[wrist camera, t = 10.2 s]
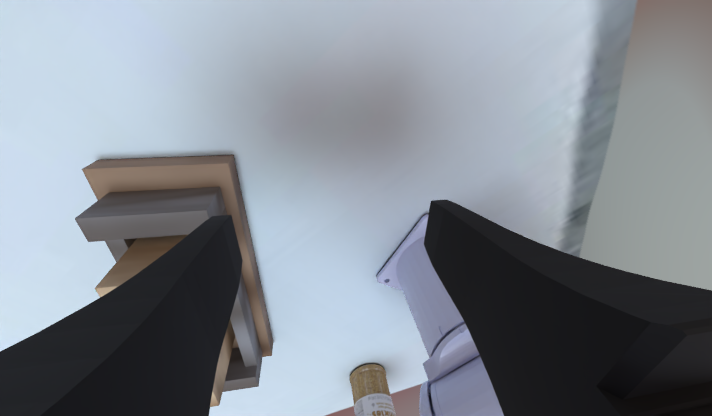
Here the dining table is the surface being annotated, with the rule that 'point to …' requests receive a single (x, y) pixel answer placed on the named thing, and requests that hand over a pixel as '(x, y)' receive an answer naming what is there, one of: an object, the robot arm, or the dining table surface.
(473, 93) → the dining table surface
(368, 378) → the sprinkles bottle
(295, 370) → the dining table surface
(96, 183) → the hinge base
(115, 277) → the door panel
